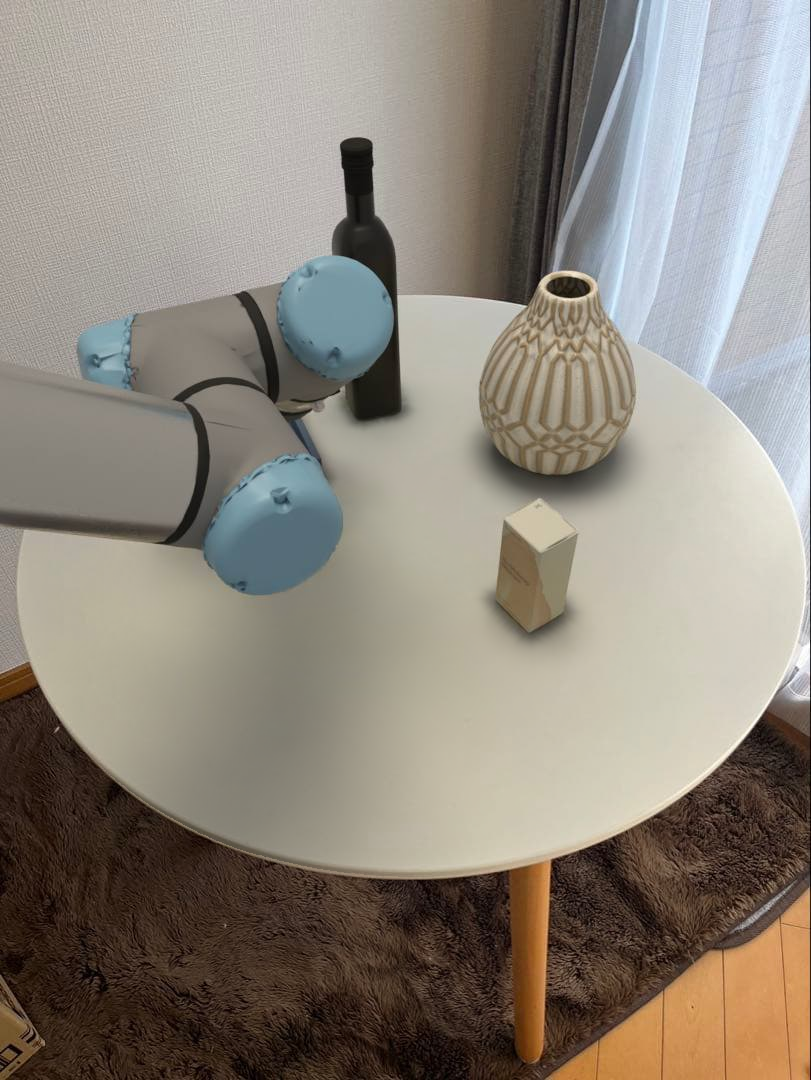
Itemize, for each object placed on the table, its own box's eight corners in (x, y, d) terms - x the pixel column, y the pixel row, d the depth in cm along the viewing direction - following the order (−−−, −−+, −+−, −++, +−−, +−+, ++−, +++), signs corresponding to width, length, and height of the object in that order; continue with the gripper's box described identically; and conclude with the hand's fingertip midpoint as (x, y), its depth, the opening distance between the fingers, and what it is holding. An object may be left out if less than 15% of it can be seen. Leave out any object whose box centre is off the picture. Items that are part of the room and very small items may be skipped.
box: (493, 599, 83) (499, 515, 75) (529, 578, 85) (539, 494, 77) (530, 636, 80) (540, 552, 72) (566, 614, 82) (580, 529, 74)
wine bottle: (389, 384, 106) (376, 126, 85) (404, 413, 103) (395, 150, 81) (343, 395, 105) (318, 136, 84) (356, 424, 102) (334, 160, 80)
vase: (558, 386, 105) (577, 226, 91) (655, 460, 96) (693, 294, 81) (447, 437, 100) (448, 275, 85) (539, 521, 90) (558, 354, 76)
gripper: (157, 470, 66) (136, 499, 86) (441, 359, 75) (362, 408, 94) (114, 375, 65) (103, 426, 85) (405, 274, 74) (334, 342, 94)
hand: (239, 417), depth 90 cm, fingers open, 13 cm apart
